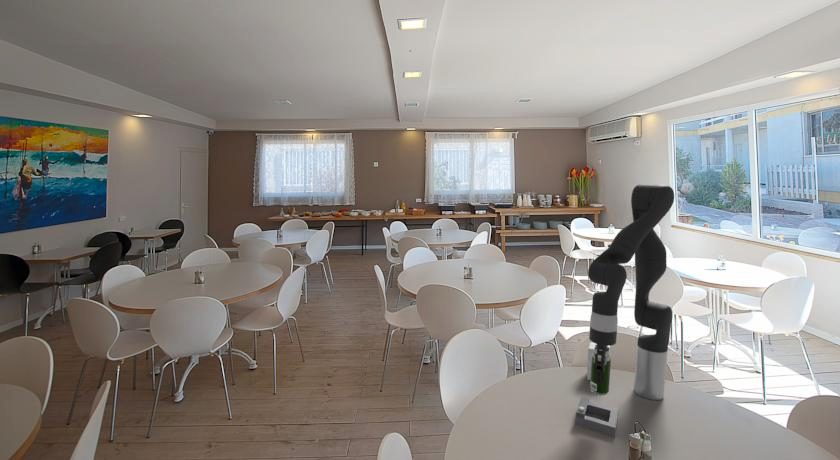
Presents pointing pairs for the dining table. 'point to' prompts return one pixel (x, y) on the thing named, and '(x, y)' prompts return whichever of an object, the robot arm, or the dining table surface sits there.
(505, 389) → the dining table surface
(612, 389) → the dining table surface
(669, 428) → the dining table surface
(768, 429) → the dining table surface
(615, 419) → the grey square frame
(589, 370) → the supplement box
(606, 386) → the beer can
